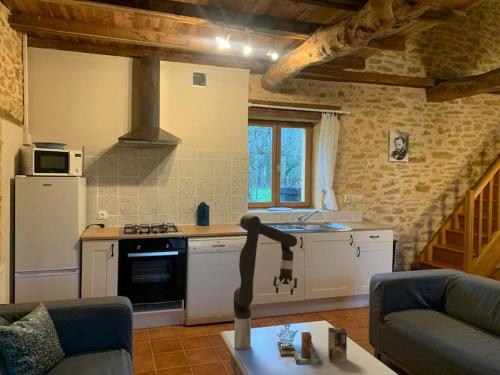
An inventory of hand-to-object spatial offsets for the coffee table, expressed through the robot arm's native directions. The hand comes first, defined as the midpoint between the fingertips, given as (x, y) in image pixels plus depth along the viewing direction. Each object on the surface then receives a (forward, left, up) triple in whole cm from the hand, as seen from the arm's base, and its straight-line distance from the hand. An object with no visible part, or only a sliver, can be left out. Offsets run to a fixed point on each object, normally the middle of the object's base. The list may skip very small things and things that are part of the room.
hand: (284, 294), depth 225 cm
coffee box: (+24, -31, -26) cm, 47 cm away
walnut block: (+8, -28, -26) cm, 39 cm away
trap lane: (+5, -23, -26) cm, 35 cm away
